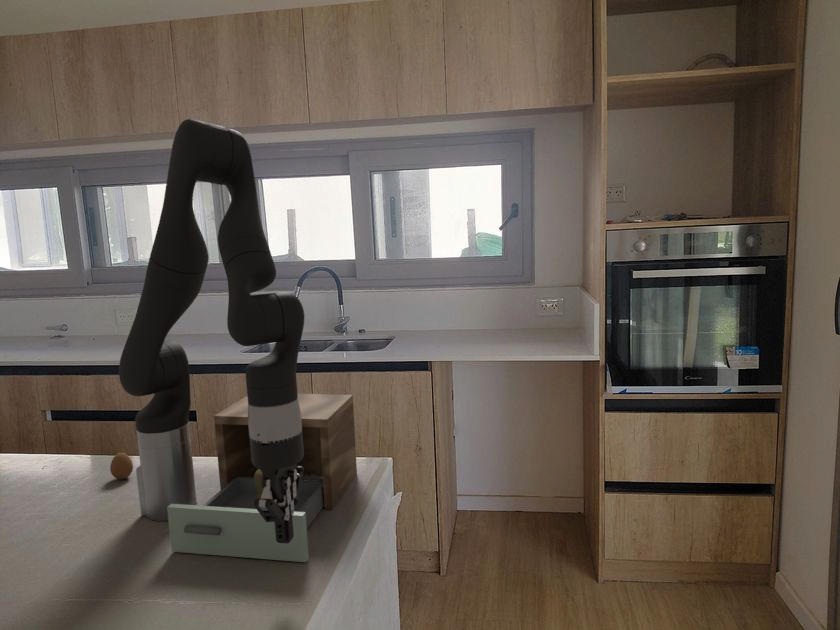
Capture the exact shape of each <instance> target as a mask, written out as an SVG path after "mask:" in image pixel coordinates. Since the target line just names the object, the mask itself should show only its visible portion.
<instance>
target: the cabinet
mask: <svg viewBox="0 0 840 630" xmlns="http://www.w3.org/2000/svg"><path fill="white" fill-rule="evenodd" d="M297 394H298V402H299V406H300V411H301V422H302V435H303V447H304V457H303V459H302V460H301V461H300V462H299V463H297V464H296V466H303V468H304V472H303V476H314V477H316V476H317V477H322V481H323V489H324V509H325V510H331V511H332V510H333V509H334V508H335V506H336V505H337V504H338V503H339V501H340V500H341V499H342V497H343V496H344V494H345V493H346V491H347V490H348V488H349V487H350V486H351V483H353V481H354V480H355V478H356V477H357V476H358V470H357V453H356V451H357V449H356V434H355V433H356V431H355V430H356V429H355V414H354V413H355V412H354V410H355V409H354V395H353V394H330V393H329V394H328V393H327V394H325V393H297ZM213 420H214V431H215V432H214V434H215V445H216V453H217V465H218V475H219V486H220V489H219V490H222V489H223V488H224V487H225V486H226V485H227V484H229V483H230V482H231V481H232V480H233V479H234V478H235V477H237V476H240V477H254V474H255V473H256V471H257V470H258V468H257V467H255V466H254V465H253V464H252V461H251V450H250V439H249V428H248V397H247V395H246V396H244V397H243V398H240V399H239V400H237V401H236V402H234V403H233V404H231V405H229V406H228V407H226V408H225V409H223V410H222V411H220V412H218V413H216V414H214V415H213Z"/></svg>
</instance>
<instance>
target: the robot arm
mask: <svg viewBox="0 0 840 630" xmlns="http://www.w3.org/2000/svg"><path fill="white" fill-rule="evenodd" d="M252 158H253V157H252V153H251V149H250V146H249V143H248V140H247V139H246V137H245V136H244V135H243V134H242V133H241V132H239V131H237V130H235V129H232V128H229V127H225V126H221V125H217V124H214V123H210V122H206V121H203V120H198V119H192V118H188V119H184V120H183V121H182V122H181V123H180V124H179V126H178V127H177V128H176V132H175V135H174V138H173V142H172V146H171V152H170V158H169V164H168V171H167V177H166V178H167V179H166V185H165V189H164V190H165V191H164V198H163V203H162V208H161V213H160V216H159V221H158V225H157V229H156V234H155V237H154V240H153V244H152V248H151V251H150V255H149V259H148V263H147V267H146V271H145V277H144V282H143V287H142V291H141V294H140V298H139V302H138V306H137V310H136V313H135V316H134V319H133V323H132V324H131V327H130V330H129V333H128V336H127V338H126V341H125V344H124V346H123V349H122V352H121V355H120V360H119V365H118V376H119V382H120V384H121V387H122V388H123V390H124V391H125V392H126V393H127V394H128V395H130V396H134V397H143V396H145V397H146V396H149V395H153V397H152V398H151V400H150V401H149V402H148V403H147V404H145V406H144V407H142V409H141V410H139V411H138V412H137V414H136V416H135V420H134V423H135V430H136V437H137V446H138V447H137V448H138V454H139V464H140V465H138V466H137V467H136V469H135V472H136V473H135V474H136V483H137V489H138V491H137V492H138V497H139V507H140V508H139V509H140V516H145V517H146V518H147V519H149V520H151V521H158V522H159V521H160V522H161V521H168V512H167V507H168V506H169V505H170V504H183V505H198V504H197V503H198V502H197V501H198V500H197V492H196V482H195V472H194V471H195V470H194V462H193V461H194V459H193V451H192V442H191V431H190V421H189V413H190V409H191V405H192V404H191V403H192V402H191V401H192V400H191V379H190V378H191V377H190V376H191V375H190V364H189V360H188V356H187V353H186V351H185V349H184V347H182V345H181V344H180V343H179V342H178V341H176V340H173V339H166V337H167V336H168V335H169V332H170V331H171V329H172V328H173V326H174V325H175V324H176V323H177V322H178V321H179V320H180V318H181V317H182V316H183V315H184V314H185V312H186V311H187V310H188V309H189V308H190V307H191V305H192V304H193V303H194V302H195V300H196V299H197V297H198V295H199V293H200V291H201V289H202V286H203V283H204V279H205V275H206V271H207V268H208V266H209V265H208V264H209V252H208V248H207V245H206V244H207V243H206V241H205V239H204V236H203V234H202V231H201V229H200V226H199V224H198V221H197V219H196V214H195V210H194V204H193V203H194V201H193V200H194V193H195V191H194V190H195V186H196V183H197V182H198V181H199V182H204V183H209V184H216V185H220V186H225V187H226V189H227V190H228V193H229V195H230V202H229V206H228V208H227V210H226V212H225V215H224V216H223V218H222V221H221V223H220V225H219V228H218V233H217V246H218V250H219V254H220V258H221V262H222V264H223V268H224V271H225V275H226V279H227V280H226V281H227V287H228V304H227V305H228V306H227V318H226V319H227V322H226V324H227V325H226V326H227V330H228V334H229V335H230V337H231V338H232V339H233V341H234V342H235V343H237V344H238V345H241V346H243V347H254V346H259V345H266V344H271V343H272V344H273V343H275V345H274V348H273V349H272V351H271V352H270V353H269V354H268V355H266V356H264V357H261V358H259V359H255V360H254V361H252V362H250V363H249V364H248V365H247V366H246V368H245V383H246V384H245V385H246V396H247V397H248V428H249V439H250V450H251V461H252V464H253V465H254V466H255V467H257V468H258V469H260V470H261V471H262V479H261V486H262V488H263V493H262V496H261V498H256V499H255V500H254V507H255V508H256V509H257V511H258V512H259V513H260V514H261V516H262V517H263V518H264V520H265V521H266V522H275V533H276V541H277V542H278V543H289V542H290V541H291V540H292V538H293V537H294V533H293V521H292V515H293V514H294V505H298V501H299V495H300V489H301V483H302V480H303V477H304V475H303V472H304V468H303V466H296V464H297V463H299V462H300V461H301V460H302V459H303V457H304V447H303V435H302V422H301V411H300V406H299V402H298V394H299V393H298V385H297V366H298V365H297V364H298V356H299V350H300V345H301V341H302V335H303V332H304V327H305V310H304V307H303V304H302V302H301V300H300V299H299V297H298V296H297V295H295V294H293V293H292V292H288V291H282V292H281V291H279V292H270V293H261V294H252V293H255V292H258V291H261V290H263V289H265V288H268V287H269V286H270V285H272V284H273V282H274V281H275V279H276V277H277V268H276V264H275V262H274V259H273V256H272V253H271V250H270V247H269V244H268V241H267V238H266V234H265V231H264V228H263V224H262V221H261V215H260V209H259V208H260V207H259V200H258V191H257V185H256V179H255V172H254V171H255V170H254V166H253V165H254V164H253V159H252Z"/></svg>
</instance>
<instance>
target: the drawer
mask: <svg viewBox="0 0 840 630" xmlns="http://www.w3.org/2000/svg"><path fill="white" fill-rule="evenodd" d="M257 494H258V488H257V487H256V486H255V484H254V477H240V476H237V477H235V478H234V479H233V480H232V481H231V482H230V483H229V484H227V485H226V486H225V487H224V488H223V489H222V490H221V489H219V491H218V492H216V494H215V495H213V496H212V497H211V498H210V499H208V500H207V502H205V503H204V504H203V505H198V504H197V505H183V504H170V505H169V506H168V507H167V512H168V520H167V521H168V528H169V529H168V530H169V537H170V540H169V541H170V548H171V552H173V553H174V552H175V553H185V554H198V555H199V554H200V555H208V556H210V555H211V556H212V555H213V556H220V557H221V556H222V557H235V558H237V557H239V558H245V559H246V558H248V559H249V558H250V559H261V560H275V561H285V562H286V561H287V562H297V563H298V562H299V563H307V562H308V560H309V557H310V556H309V543H308V542H309V541H308V528H309V527H310V526H311V524H312V523H313V522H314V520H315V518H316V517H317V516H318V515H319V513H320V512H321V510H322V509H323V508H324V507H325V505H324V489H323V480H316V479H315V480H314V479H313V480H312V479H302V483H301V489H300V495H299V501H298V505H294V514H293V515H292V521H293V533H294V537H293V538H292V540H291V541H290V542H289V543H278V542H277V541H276V533H275V522H266V521H265V520H264V518H263V517H262V516H261V514H260V513H259V512H258V511H257V509H256V508H255V507H254V500H255V499H256V498H257Z"/></svg>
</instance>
